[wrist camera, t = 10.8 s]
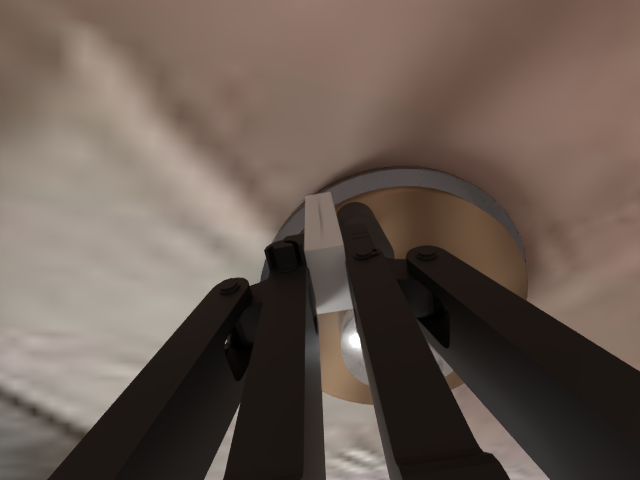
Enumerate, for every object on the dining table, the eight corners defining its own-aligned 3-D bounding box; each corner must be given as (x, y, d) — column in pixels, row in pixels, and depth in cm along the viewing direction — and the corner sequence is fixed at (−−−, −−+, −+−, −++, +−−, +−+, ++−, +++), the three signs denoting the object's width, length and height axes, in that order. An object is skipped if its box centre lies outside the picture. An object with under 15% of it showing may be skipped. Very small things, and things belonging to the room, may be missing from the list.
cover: (332, 355, 23) (338, 418, 19) (344, 261, 20) (353, 309, 15) (436, 359, 24) (466, 421, 19) (464, 268, 20) (508, 315, 16)
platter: (270, 385, 26) (258, 468, 20) (275, 175, 19) (259, 208, 13) (474, 393, 27) (520, 473, 22) (553, 196, 20) (654, 236, 14)
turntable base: (289, 399, 29) (289, 410, 28) (229, 193, 21) (225, 198, 20) (506, 368, 28) (514, 379, 27) (532, 142, 20) (545, 144, 19)
